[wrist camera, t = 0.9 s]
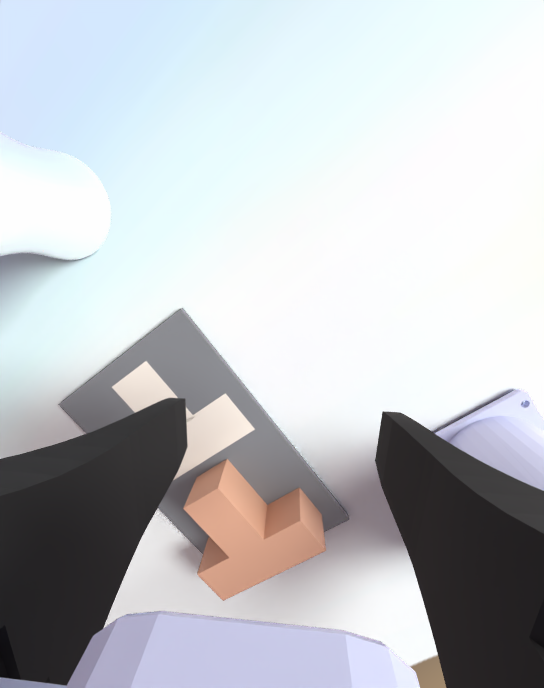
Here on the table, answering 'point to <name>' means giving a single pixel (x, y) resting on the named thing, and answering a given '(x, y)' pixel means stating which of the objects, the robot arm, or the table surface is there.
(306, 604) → the table surface
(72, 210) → the beer glass
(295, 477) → the t mat
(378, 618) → the table surface
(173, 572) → the table surface
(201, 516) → the t block
